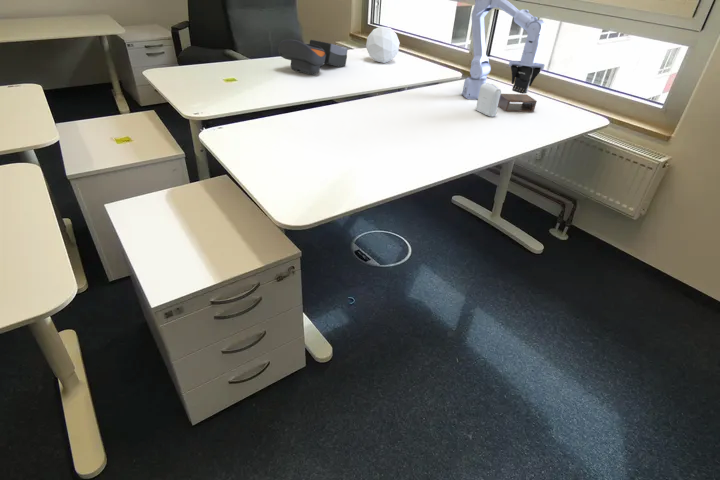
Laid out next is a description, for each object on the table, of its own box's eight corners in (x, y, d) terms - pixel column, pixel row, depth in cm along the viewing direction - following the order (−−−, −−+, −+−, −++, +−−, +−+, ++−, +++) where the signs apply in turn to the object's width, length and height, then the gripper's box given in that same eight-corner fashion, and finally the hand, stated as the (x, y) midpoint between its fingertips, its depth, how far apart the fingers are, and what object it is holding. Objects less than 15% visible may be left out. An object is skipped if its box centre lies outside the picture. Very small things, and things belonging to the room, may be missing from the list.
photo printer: (473, 109, 191) (480, 81, 184) (481, 109, 192) (488, 80, 185) (489, 117, 183) (496, 87, 176) (496, 116, 185) (504, 87, 178)
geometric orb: (387, 75, 259) (402, 51, 241) (357, 60, 254) (370, 35, 237) (394, 53, 267) (408, 29, 249) (364, 38, 262) (377, 12, 245)
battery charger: (509, 90, 195) (516, 64, 188) (514, 89, 197) (521, 63, 190) (523, 94, 190) (530, 67, 184) (527, 93, 192) (535, 66, 186)
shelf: (505, 111, 192) (508, 100, 189) (496, 104, 200) (499, 93, 197) (533, 112, 194) (536, 101, 191) (523, 105, 202) (526, 94, 199)
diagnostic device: (313, 38, 205) (277, 31, 214) (307, 74, 211) (273, 66, 220) (354, 49, 237) (321, 42, 246) (348, 81, 243) (316, 73, 252)
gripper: (545, 51, 186) (536, 84, 194) (511, 48, 188) (503, 80, 196) (548, 55, 181) (539, 88, 188) (513, 51, 182) (505, 84, 190)
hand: (521, 84), depth 191 cm, fingers closed on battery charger, 7 cm apart
